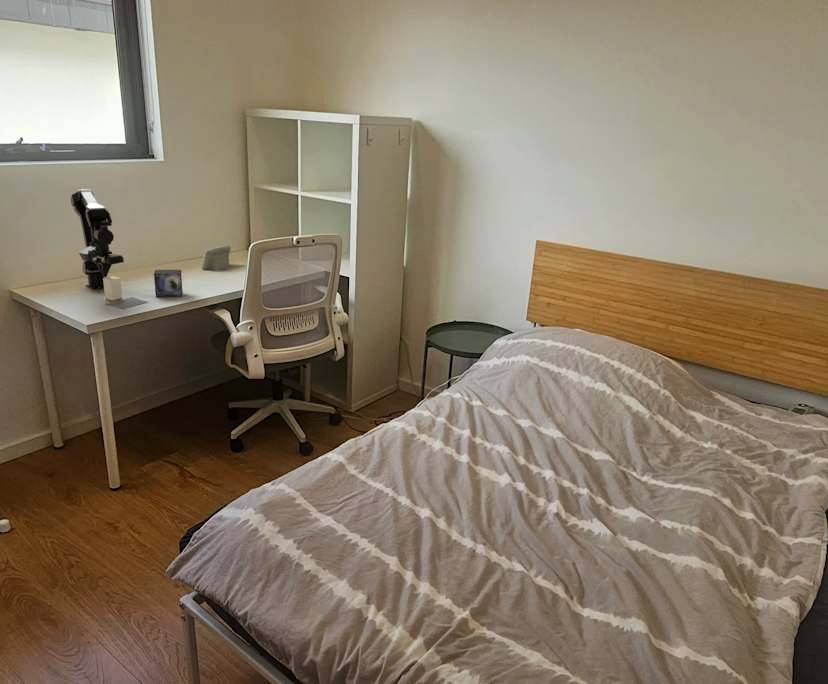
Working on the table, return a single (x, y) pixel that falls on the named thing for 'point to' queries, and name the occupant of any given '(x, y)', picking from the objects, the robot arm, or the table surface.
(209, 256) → the digital clock
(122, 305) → the grey rubber mat
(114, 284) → the cream block
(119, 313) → the table surface
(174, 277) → the small box
